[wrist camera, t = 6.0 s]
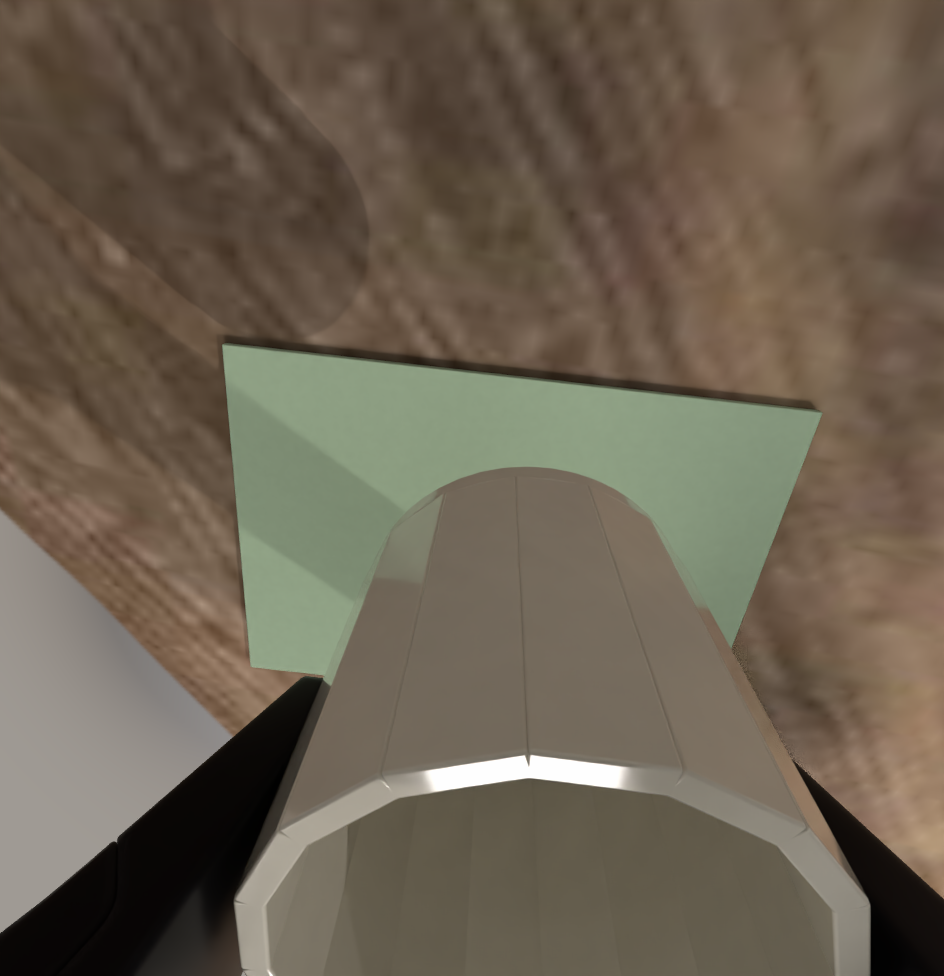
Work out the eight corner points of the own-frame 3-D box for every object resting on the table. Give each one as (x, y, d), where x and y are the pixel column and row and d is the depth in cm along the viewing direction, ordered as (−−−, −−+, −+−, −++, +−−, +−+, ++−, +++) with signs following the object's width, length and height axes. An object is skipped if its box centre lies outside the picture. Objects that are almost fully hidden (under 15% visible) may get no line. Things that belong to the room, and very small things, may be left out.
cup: (640, 739, 13) (748, 1141, 7) (363, 705, 13) (251, 1078, 7) (724, 488, 11) (1005, 811, 5) (374, 445, 11) (208, 710, 5)
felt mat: (702, 713, 25) (704, 718, 24) (253, 662, 25) (250, 667, 24) (818, 409, 19) (823, 412, 18) (225, 342, 19) (221, 344, 18)
